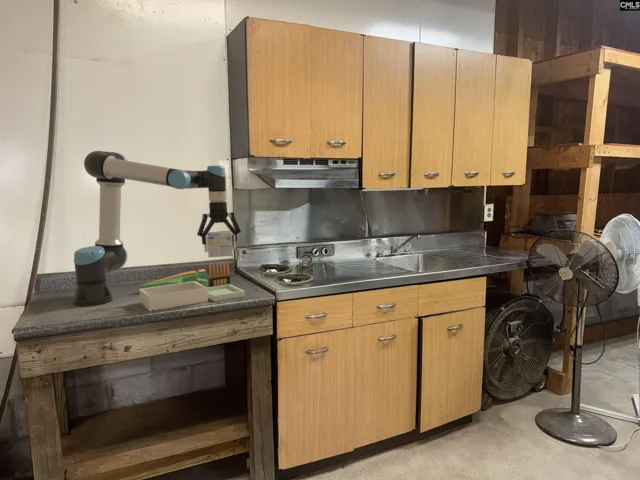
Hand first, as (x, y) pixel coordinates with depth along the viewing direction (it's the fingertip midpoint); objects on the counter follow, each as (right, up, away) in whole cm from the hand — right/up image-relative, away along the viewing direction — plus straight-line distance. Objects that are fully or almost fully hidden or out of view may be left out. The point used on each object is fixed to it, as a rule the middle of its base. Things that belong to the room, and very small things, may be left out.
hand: (220, 250), depth 198 cm
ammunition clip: (-4, -18, +19) cm, 27 cm away
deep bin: (-18, -22, -7) cm, 29 cm away
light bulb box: (0, -3, 0) cm, 3 cm away
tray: (0, -20, +3) cm, 20 cm away
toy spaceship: (-27, -19, +19) cm, 38 cm away
